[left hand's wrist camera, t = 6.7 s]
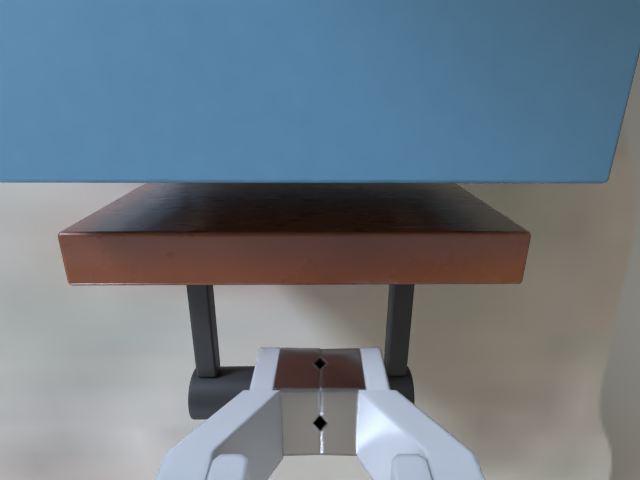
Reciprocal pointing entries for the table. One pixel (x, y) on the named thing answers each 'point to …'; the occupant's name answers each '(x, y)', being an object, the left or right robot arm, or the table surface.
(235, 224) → the drawer
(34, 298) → the table surface
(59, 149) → the light blue box
